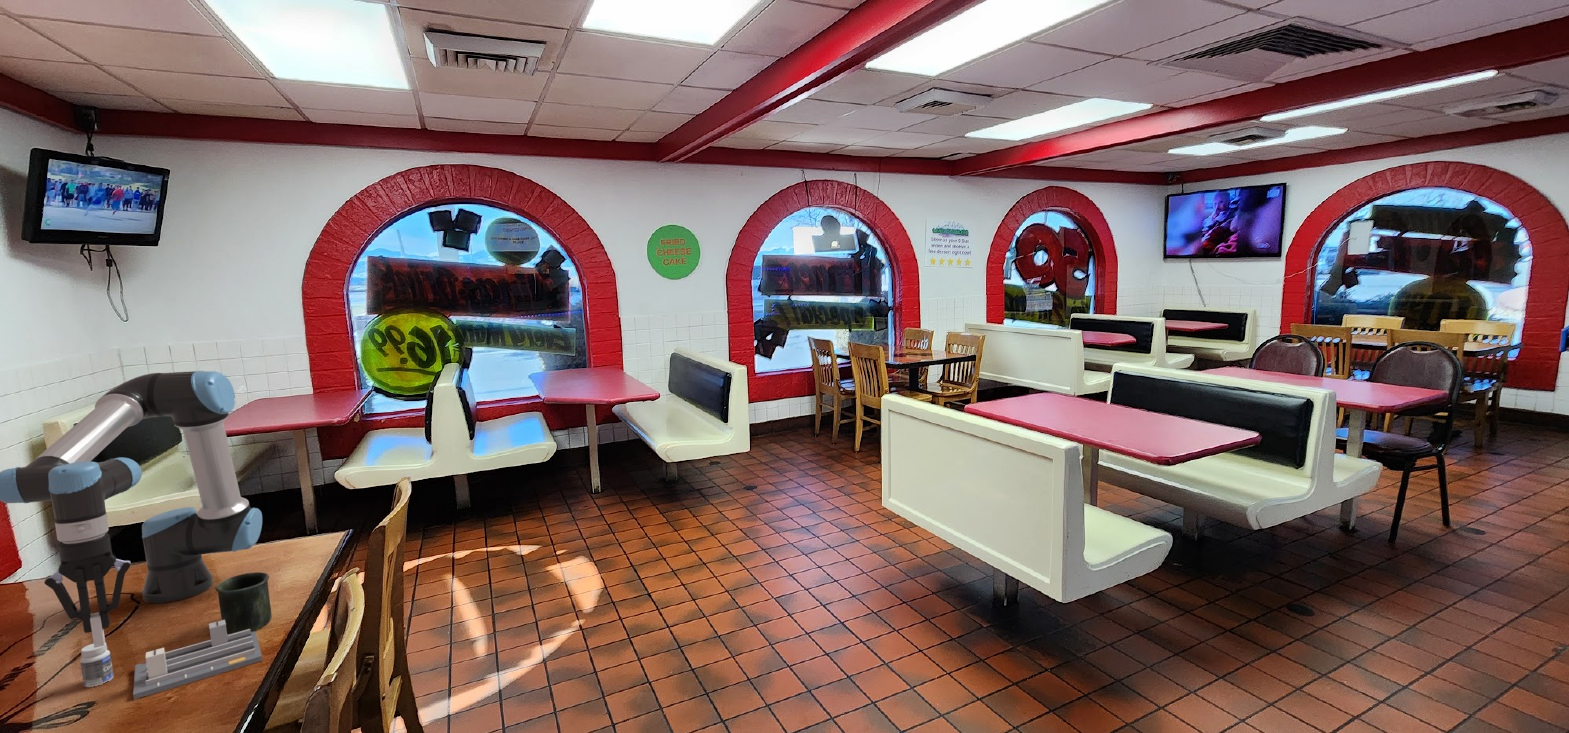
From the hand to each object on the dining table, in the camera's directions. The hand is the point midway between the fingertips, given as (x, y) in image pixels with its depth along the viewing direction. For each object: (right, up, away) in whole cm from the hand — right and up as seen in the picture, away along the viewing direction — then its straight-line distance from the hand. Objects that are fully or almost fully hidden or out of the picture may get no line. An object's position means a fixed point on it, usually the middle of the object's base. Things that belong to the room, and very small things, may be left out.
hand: (99, 644), depth 146 cm
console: (+10, -10, +14) cm, 20 cm away
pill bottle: (-8, -12, +8) cm, 16 cm away
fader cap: (+6, -10, +7) cm, 14 cm away
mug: (+6, -8, +33) cm, 34 cm away
